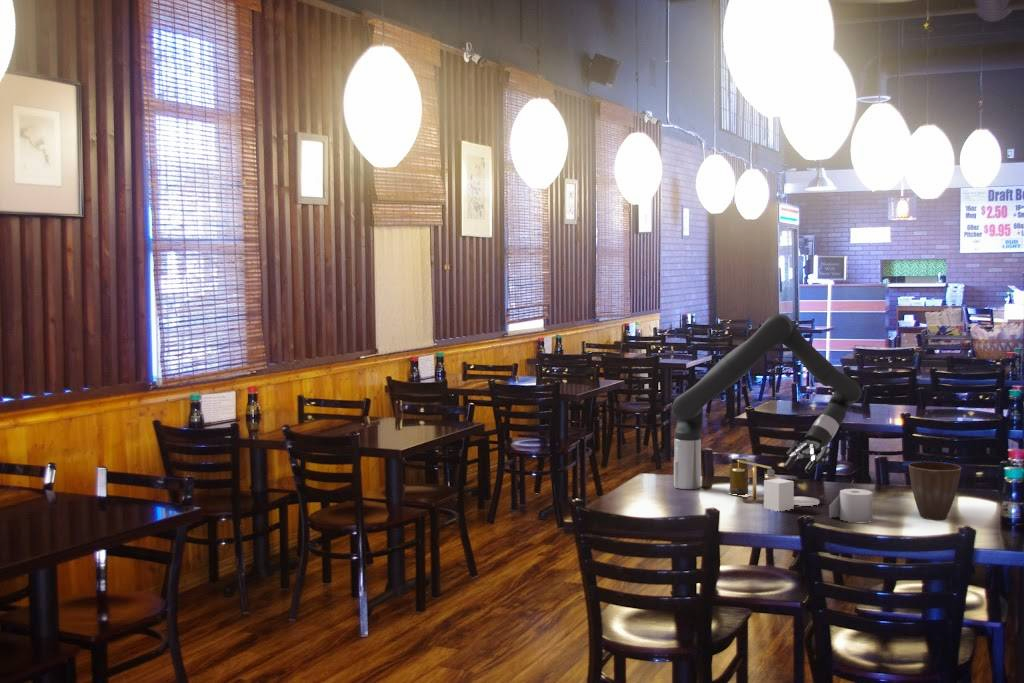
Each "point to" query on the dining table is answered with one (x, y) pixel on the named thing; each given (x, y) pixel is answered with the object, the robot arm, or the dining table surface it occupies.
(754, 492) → the balance
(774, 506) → the white rectangular block
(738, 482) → the condiment
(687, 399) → the robot arm
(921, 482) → the plant pot
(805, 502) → the dish
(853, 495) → the toilet tissue
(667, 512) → the dining table surface
